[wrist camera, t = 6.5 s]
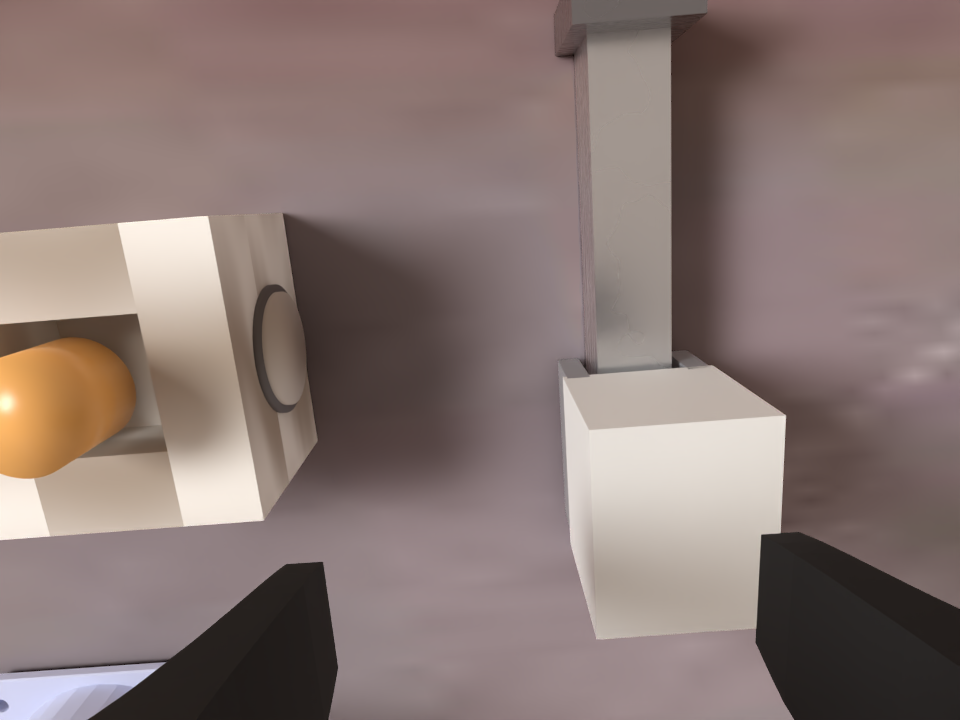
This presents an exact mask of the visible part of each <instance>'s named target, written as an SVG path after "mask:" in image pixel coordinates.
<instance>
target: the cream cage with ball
mask: <svg viewBox="0 0 960 720" xmlns="http://www.w3.org/2000/svg"><path fill="white" fill-rule="evenodd" d="M67 337H78V338H85V339H89V340H92V341H95V342H98V343H100V344H102V345H104V346H105V347H107V348H108V349H110V350H111V351H113V352H114V353H115V354H116V355H117V356H118V357H119V358H120V359H121V360H122V361H123V362H124V364H125V365H126V366H127V368H128V370H129V372H130V373H131V376H132V378H133V381H134V384H135V389H136V405H135V409H134V412H133V415H132V417H131V419H130V420H129V422H128V423H127V424H126V426H125V427H124V428H123V429H122V430H120V431H119V432H118V433H116V434H114V435H113V436H111V437H110V438H108V439H107V440H105V441H103V442H102V443H100V444H99V445H97V446H95V447H94V448H92V449H91V450H89V451H88V452H86V453H84V454H83V455H81V456H80V457H78V458H76V459H75V460H73V461H72V462H70V463H69V464H67V465H65V466H64V467H62V468H61V469H59V470H57V471H56V472H54V473H52V474H50V475H47V476H44V477H40V478H33V479H21V478H14V477H9V476H6V475H3V474H0V540H7V539H20V538H34V537H48V536H61V535H75V534H88V533H102V532H115V531H129V530H143V529H156V528H170V527H183V526H197V525H211V524H224V523H238V522H251V521H264V520H265V518H266V517H267V515H268V514H269V512H270V511H271V509H272V508H273V506H274V505H275V503H276V502H277V500H278V499H279V497H280V496H281V495H282V493H283V492H284V490H285V489H286V487H287V486H288V484H289V483H290V481H291V480H292V478H293V477H294V475H295V474H296V472H297V471H298V469H299V468H300V467H301V465H302V464H303V462H304V461H305V459H306V458H307V456H308V455H309V453H310V452H311V450H312V449H313V447H314V446H315V444H316V443H317V441H318V439H317V433H316V426H315V420H314V413H313V407H312V400H311V394H310V387H309V381H308V374H307V368H306V344H305V336H304V330H303V326H302V322H301V318H300V315H299V312H298V309H297V303H296V296H295V290H294V283H293V277H292V270H291V264H290V257H289V251H288V244H287V238H286V231H285V225H284V219H283V213H268V214H243V215H218V216H201V217H188V218H176V219H164V220H152V221H139V222H127V223H115V224H103V225H91V226H78V227H66V228H54V229H42V230H29V231H17V232H5V233H0V358H1V357H4V356H7V355H10V354H13V353H16V352H20V351H23V350H26V349H29V348H32V347H35V346H38V345H42V344H45V343H48V342H51V341H54V340H57V339H61V338H67Z"/></svg>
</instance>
